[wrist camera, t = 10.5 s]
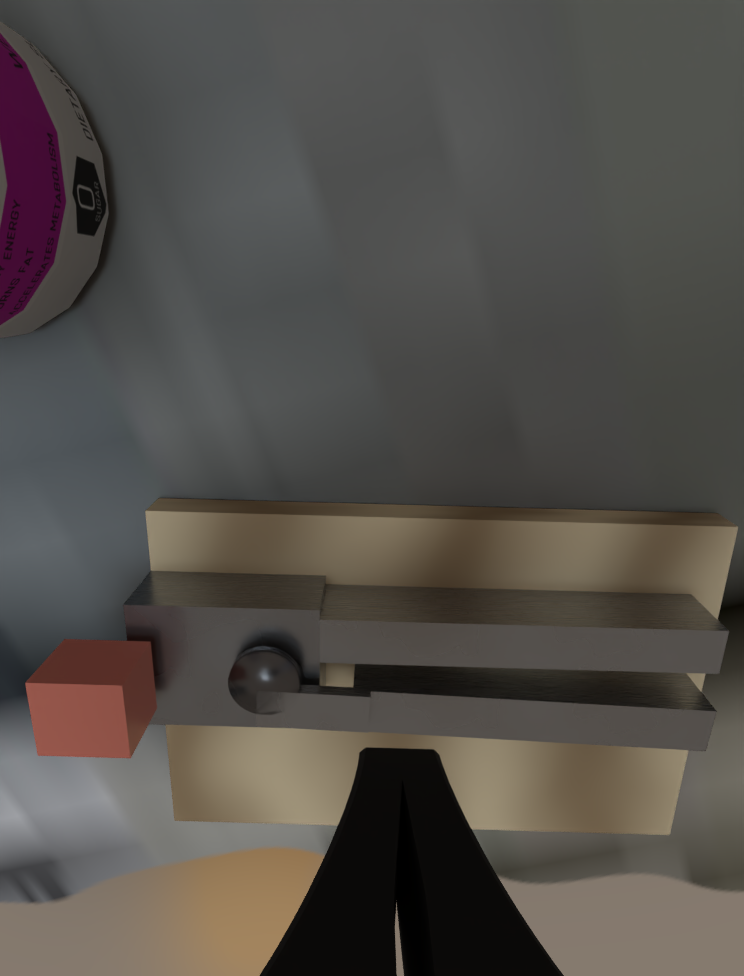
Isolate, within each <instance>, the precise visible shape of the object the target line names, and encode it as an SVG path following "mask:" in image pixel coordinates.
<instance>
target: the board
mask: <svg viewBox="0 0 744 976" xmlns="http://www.w3.org/2000/svg"><path fill="white" fill-rule="evenodd" d="M145 512H146V522H147V533H148V544H149V554H150V565H151V571H180V572H216V573H253V574H289V575H325V576H326V584H339V585H375V586H411V587H447V588H484V589H520V590H556V591H593V592H629V593H665V594H692V595H693V596H694V597H695V598H696V599H697V600H698V601H699V602H700V603H701V604H702V605H703V606H704V607H705V608H706V609H707V610H708V611H709V612H710V613H711V614H712V615H713V616H714V617H715V618H716V619H717V620H718V616H719V611H720V607H721V602H722V598H723V593H724V589H725V584H726V580H727V575H728V571H729V566H730V562H731V557H732V553H733V548H734V544H735V539H736V535H737V530H738V526H736V525H735V524H733V523H731V522H730V521H728V520H727V519H725V518H724V517H722V516H721V515H719V514H718V513H689V512H652V511H615V510H579V509H542V508H505V507H468V506H431V505H394V504H357V503H321V502H284V501H247V500H210V499H173V498H158V499H157V500H156V501H155V502H154V503H153V504H152V505H151V506H150V507H149V508H148V509H147V510H146V511H145ZM354 670H355V664H345V663H326V686H336V687H353V685H354ZM686 674H687V675H688V676H689V677H690V679H691V680H692V681H693V682H694V684H695V685H696V686H697V687H698V689H699V690H700V691H701V692H702V687H703V683H704V678H705V674H702V673H686ZM166 735H167V745H168V756H169V767H170V777H171V788H172V799H173V809H174V820H175V821H204V822H239V823H274V824H308V825H338V824H339V822H340V819H341V817H342V814H343V812H344V809H345V806H346V803H347V800H348V797H349V795H350V792H351V788H352V785H353V782H354V778H355V774H356V770H357V766H358V760H359V752H361V751H362V750H363V749H364V748H366V747H373V748H408V749H434V750H435V751H436V752H437V753H438V754H439V755H440V758H441V761H442V764H443V767H444V770H445V773H446V775H447V778H448V780H449V783H450V785H451V787H452V790H453V792H454V794H455V796H456V798H457V801H458V803H459V805H460V807H461V809H462V811H463V813H464V815H465V817H466V819H467V821H468V823H469V825H470V827H471V829H482V830H517V831H551V832H586V833H621V834H655V835H670V831H671V827H672V822H673V818H674V813H675V809H676V804H677V800H678V795H679V791H680V786H681V782H682V777H683V773H684V768H685V764H686V759H687V755H688V750H676V749H658V748H641V747H623V746H606V745H589V744H571V743H554V742H536V741H519V740H501V739H484V738H466V737H449V736H432V735H414V734H397V733H379V732H368V733H364V732H347V731H329V730H312V729H294V728H264V727H229V726H194V725H166Z"/></svg>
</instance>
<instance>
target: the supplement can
mask: <svg viewBox="0 0 744 976" xmlns="http://www.w3.org/2000/svg"><path fill="white" fill-rule="evenodd" d="M108 215H109V211H108V202H107V193H106V184H105V175H104V166H103V157H102V153H101V150H100V148H99V146H98V144H97V141H96V139H95V137H94V134H93V132H92V130H91V128H90V125H89V123H88V121H87V118H86V116H85V114H84V111H83V109H82V107H81V105H80V102H79V100H78V98H77V95H76V94H75V93H74V92H73V91H72V89H71V88H70V87H69V86H68V85H67V84H66V82H65V81H64V80H63V79H62V78H61V76H60V75H59V74H58V73H57V72H56V71H55V69H54V68H53V67H52V66H51V65H50V63H49V62H48V61H47V60H46V59H45V58H44V56H43V55H42V54H41V53H40V52H39V50H38V49H37V48H36V47H35V46H34V45H33V44H32V43H30V42H29V41H28V40H26V39H25V38H23V37H22V36H21V35H19V34H18V33H16V32H15V31H13V30H12V29H11V28H9V27H8V26H6V25H5V24H4V23H2V22H1V21H0V338H5V337H11V336H17V335H22V334H28V333H31V332H32V331H34V330H36V329H37V328H39V327H40V326H42V325H43V324H45V323H46V322H48V321H49V320H51V319H53V318H54V317H56V316H57V315H59V314H60V313H62V312H63V311H65V310H66V309H68V308H70V306H71V305H72V303H73V302H74V300H75V299H76V297H77V296H78V294H79V293H80V291H81V290H82V288H83V287H84V285H85V284H86V282H87V281H88V279H89V278H90V276H91V275H92V273H93V272H94V270H95V269H96V267H97V265H98V260H99V256H100V251H101V247H102V242H103V238H104V233H105V229H106V224H107V220H108Z"/></svg>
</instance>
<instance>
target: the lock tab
mask: <svg viewBox="0 0 744 976" xmlns="http://www.w3.org/2000/svg"><path fill="white" fill-rule="evenodd" d="M25 684H26V690H27V696H28V701H29V707H30V713H31V719H32V724H33V730H34V736H35V742H36V747H37V753H38V756H73V757H108V758H131V756H132V754H133V753H134V751H135V749H136V747H137V745H138V743H139V741H140V739H141V738H142V736H143V734H144V732H145V730H146V728H147V726H148V724H149V722H150V721H151V719H152V717H153V715H154V713H155V711H156V709H157V702H156V692H155V681H154V671H153V661H152V651H151V642H148V641H112V640H76V639H64V640H63V641H62V643H61V644H60V645H59V646H58V647H57V648H56V649H55V650H54V651H53V653H52V654H51V655H50V656H49V657H48V658H47V659H46V660H45V661H44V663H43V664H42V665H41V666H40V667H39V668H38V669H37V670H36V672H35V673H34V674H33V675H32V676H31V677H30V678H29V679H28V680H27V682H26V683H25Z"/></svg>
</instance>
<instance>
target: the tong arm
mask: <svg viewBox="0 0 744 976" xmlns="http://www.w3.org/2000/svg"><path fill="white" fill-rule="evenodd" d="M228 688H229V692H230V694H231V696H232V698H233V699H234V701H235V702H236V703H237V704H238V705H239V706H241V707H242V708H243V709H245V710H247V711H249V712H251V713H254V714H256V726H259V727H277V728H294V729H312V730H329V731H347V732H364V733H368V732H379V733H397V734H414V735H432V736H449V737H466V738H484V739H501V740H519V741H536V742H554V743H571V744H589V745H606V746H623V747H641V748H658V749H676V750H693V751H706V748H707V745H708V741H709V738H710V734H711V730H712V727H713V723H714V719H715V716H716V712H717V711H716V710H715V709H714V707H713V706H712V705H711V704H710V702H709V701H708V700H707V699H706V697H705V696H704V695H703V694H702V692H701V691H700V690H699V689H698V687H697V686H696V685H695V684H694V682H693V681H692V680H691V679H690V677H689V676H688V675H687V674H686V673H666V672H631V671H595V670H559V669H523V668H488V667H452V666H416V665H380V664H355V670H354V685H353V687H336V686H319V685H301V672H300V669H299V666H298V664H297V663H296V661H295V660H294V659H293V658H292V657H291V656H290V655H289V654H288V653H286V652H285V651H283V650H281V649H278V648H275V647H271V646H257V647H253V648H250V649H248V650H246V651H244V652H243V653H241V654H240V655H239V656H238V657H237V659H236V660H235V662H234V663H233V666H232V669H231V671H230V674H229V677H228Z"/></svg>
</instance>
